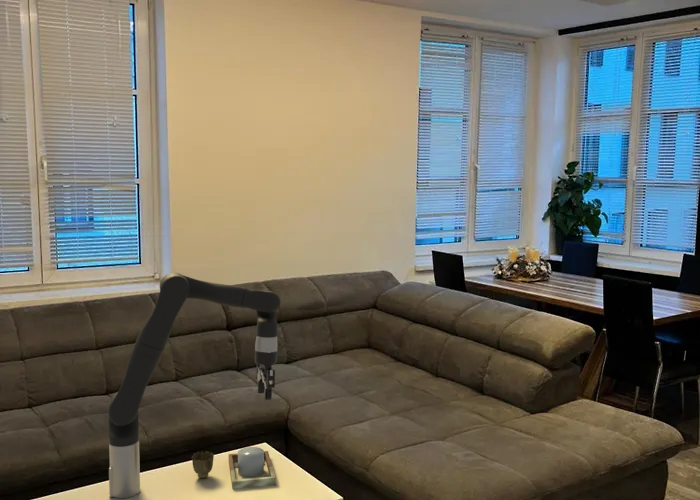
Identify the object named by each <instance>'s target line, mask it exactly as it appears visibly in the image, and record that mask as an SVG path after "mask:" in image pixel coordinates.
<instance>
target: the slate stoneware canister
mask: <svg viewBox="0 0 700 500" xmlns="http://www.w3.org/2000/svg"><path fill="white" fill-rule="evenodd" d="M264 451H265V450H264V449H263V448H261V447H257V446H248V447H247V446H246V447H243V448H241V449H240V450H239V449H238V452H237V453H238V461H237V462H238V467H237V475H239V477H242V478H243V479H250V478H260V477H261V476H263V475H264V473H265V465H264V461H265V459H264ZM262 474H263V475H262Z"/></svg>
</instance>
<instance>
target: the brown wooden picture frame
mask: <svg viewBox="0 0 700 500" xmlns="http://www.w3.org/2000/svg"><path fill="white" fill-rule="evenodd" d="M269 453H270V452H269V450H264V466H266V467H267V472H268V475H269V476H265V477H264V476H263V477H261V476H260V477H256V478H242V479H236V474H235V473H236V472H235V468H237V469H238V452H236V453H228V467H229V474H230V480H231V481H230V484H231V488H232V489H233V490H236V489H247V488H258V487H267V486H269V487H270V486H276V481H277V480H276V475H275V471H274V468H273V463H272V460H271V457H270V454H269Z"/></svg>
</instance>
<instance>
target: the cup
mask: <svg viewBox="0 0 700 500" xmlns="http://www.w3.org/2000/svg"><path fill="white" fill-rule="evenodd" d="M214 454H215V453H213V452H212V451H211V452H210V451H209V450H208V451H207V450H205V451H204V450H202V451H201V452H200V451H197V452H196V453H195V452H194V453H193V455H191V461H192V468H193V471H194V473H195V474H197V478H198V479H201V480H203V479H204V480H205V479H207V478H208V477H209V473H210V472H211V471H212V469H213V465H214V456H215V455H214Z"/></svg>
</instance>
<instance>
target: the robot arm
mask: <svg viewBox="0 0 700 500" xmlns="http://www.w3.org/2000/svg"><path fill="white" fill-rule="evenodd" d="M187 299H196V300H203V301H206V302H210V303H211V302H212V303H215V304H219V305H222V306H226V307H233V308H240V309H250V310H254V311H256V321H257V323H256V338H255V346H254V347H255V348H254V363H255V364H256V366H255V367H256V369H255V370H256V371H255V379H256V382H257V394H264V399H265V400H266V401H269V400H272V398H273V397H272V395H273V394H272V393H273V392H272V391H273V388H274V389H275V386H276V385H275V383H276V382H275V381H276V379H275V377H276V370H275V369H273V367H272V365H275V364H277V362H278V321H277V318H276V314H277V313H276V311H277V310H278V309H279V308H280V306H281V298H280V297H279V295H278V294H277V293H276V292H273V291H271V290H268V289H267V290H266V289H264V290H259V289H258V290H256V289H252V288H248V287H245V286H238V285H231V284H223V283H217V282H211V281H210V282H208V281H205V280H199V279H197V278H196V279H195V278H193V277H190V276H186V275H183V274H181V273H178V272H169V273H167V274H165V275H164V276H163V277H162V278H161V279H160V283H159V293H158V297H157V301H156V303H155V306H154V309H153V312H152V313H151V315H150V317H149V318H148V320H147V321H146V322H145V324H144V326H143V327H142V329H141V331H140V332H139V334H138V336H137V338H136V340H135V343H134V345H133V347H132V348H133V349H132V350H131V353H130V355H129V360H128V363H127V366H126V367H127V368H126V371H125V375H124V379H123V380H122V384H121V386H120V387H119V389H118V391H117V392H115V393H114V394H112V396H111V397H110V399H109V401H108V405H107V415H108V447H109V448H108V449H109V450H108V451H109V467H108V482H109V483H108V484H109V489H108V490H109V498H116V499H127V498H131V497H134V496H136V495H137V494H139V493H140V491H141V475H140V474H141V473H140V471H141V470H140V468H141V467H140V466H141V465H140V428H139V427H140V426H139V425H140V424H139V409H140V406H141V402H142V400H143V396H144V393H145V390H146V388H147V386H148V384H149V382H150V380H151V378H152V376H153V374H154V373H155V371H156V369H157V366H158V365H159V362H160V361H161V359H162V355H163V354H164V351H165V349H166V347H167V343H168V340H169V338H170V335H171V332H172V329H173V326H174V324H175V320H176V318H177V316H178V314H179V312H180V311H181V309H182V307H183V305H184V303H186V300H187Z"/></svg>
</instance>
